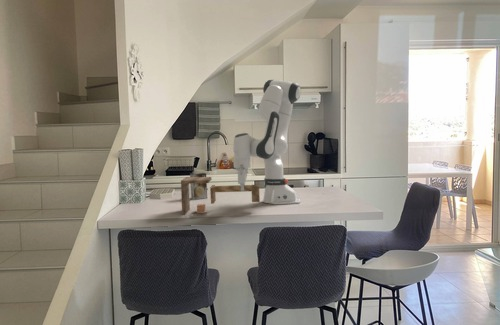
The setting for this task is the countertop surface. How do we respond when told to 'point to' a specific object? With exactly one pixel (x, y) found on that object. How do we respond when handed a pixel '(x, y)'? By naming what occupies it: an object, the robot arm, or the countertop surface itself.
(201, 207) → the cube
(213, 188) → the wooden bridge block
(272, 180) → the robot arm
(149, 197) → the countertop surface
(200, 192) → the coffee box
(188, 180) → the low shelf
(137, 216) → the countertop surface
